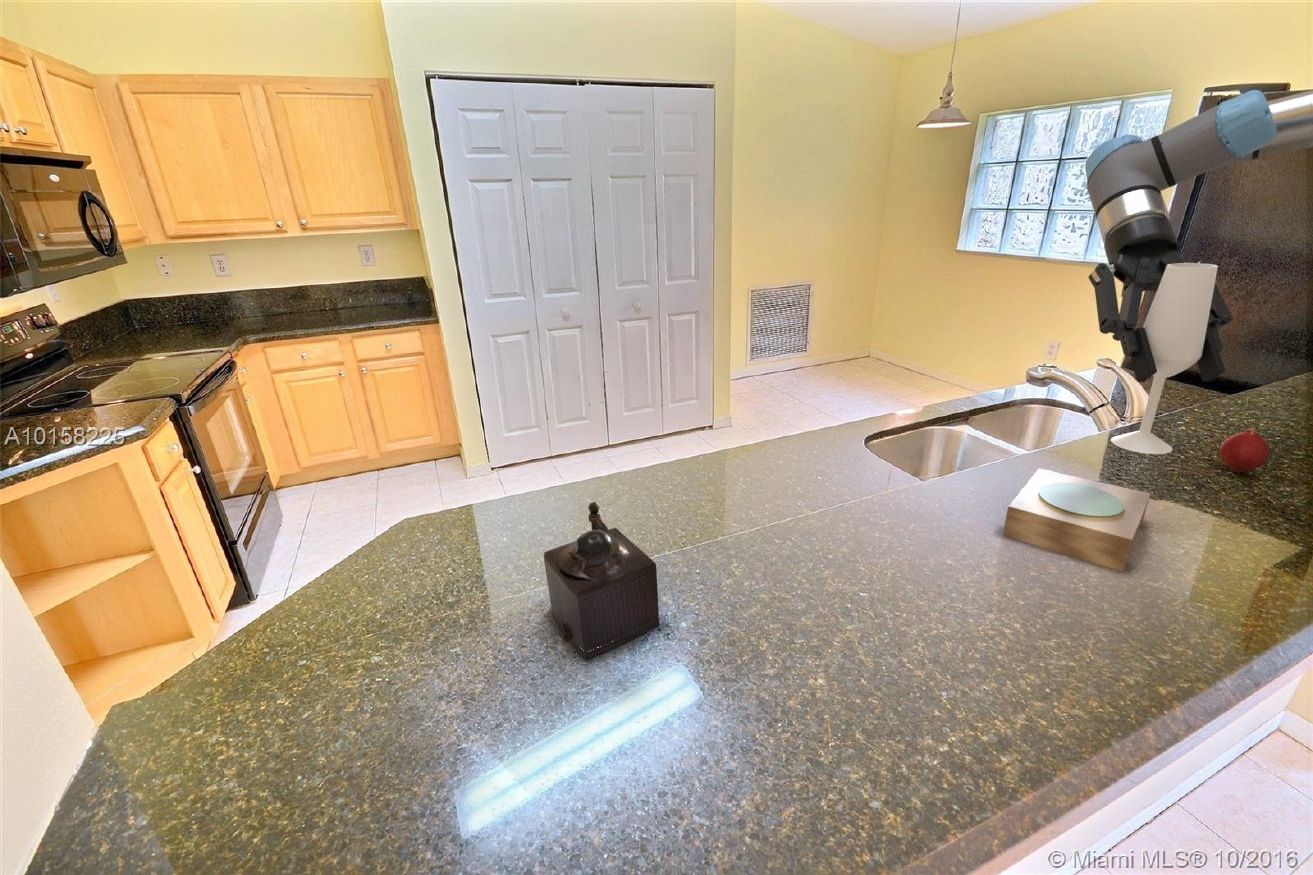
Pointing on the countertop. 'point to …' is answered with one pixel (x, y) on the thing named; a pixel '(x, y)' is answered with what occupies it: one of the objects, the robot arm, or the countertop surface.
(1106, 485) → the wooden display base
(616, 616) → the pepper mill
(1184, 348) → the champagne flute
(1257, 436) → the onion
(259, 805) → the countertop surface
